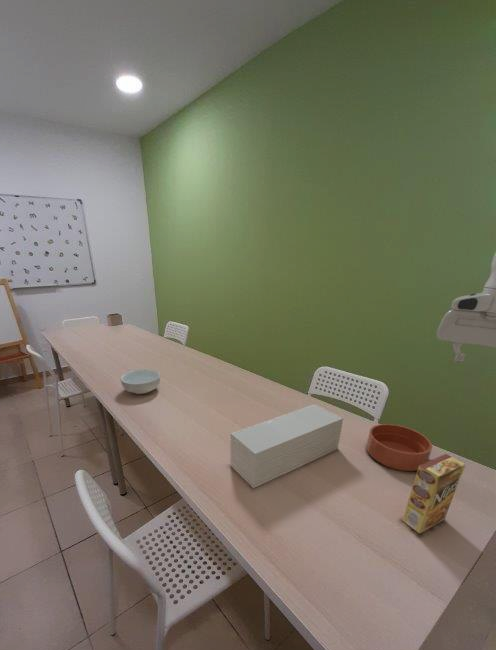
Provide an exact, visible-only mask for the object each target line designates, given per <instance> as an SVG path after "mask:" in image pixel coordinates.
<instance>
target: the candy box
mask: <svg viewBox="0 0 496 650" xmlns="http://www.w3.org/2000/svg"><path fill="white" fill-rule="evenodd" d="M465 467H466V463H464V462H462V461H461V460H459V459H457V458H455V457H453V456H450V455H449V454H447V453H444V454H442V455H439V456H438V457H435V458H433V459H430V460H428V462H427V463H424V464H422V465H419V467H418V470H416V474H415V477H414V481H413V484H412V488H411V491H410V494H409V498H408V501H407V504H406V507H405V511H404V513H403V517H402V522H403V523H405V524H406V525H407V526H408V527H410V528H411V529H413V530H414V531H415V532H417V533H418V534H422V533H424V532H425V531H427V530H429V529H431V528H432V527H434V526H436V525H438V524H440V523H441V522H443V521H444V520H446V517H447V514H448V512H449V509H450V507H451V504H452V501H453V498H454V495H455V494H456V490H457V488H458V486H459V483H460V480H461V477H462V474H463V472H464V469H465Z"/></svg>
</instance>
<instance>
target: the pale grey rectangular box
mask: <svg viewBox="0 0 496 650" xmlns="http://www.w3.org/2000/svg"><path fill="white" fill-rule="evenodd" d="M343 421H344V418H343V417H342V416H339V415H337V414H335V413H333V412H331V411H330V410H327V409H325V408H324V407H321V406H319V405H317V404H315V403H313V404H310V405H308V406H305V407H302V408H299V409H296V410H293V411H290V412H288V413H285V414H282V415H279V416H276V417H272V418H270V419H268V420H265V421H261V422H259V423H256V424H253V425H250V426H247V427H244V428H242V429H239V430H236V431H233V432H230V443H229V444H230V449H229V450H230V453H229V454H230V457H229V458H230V460H229V461H230V462H229V463H230V465H229V466H231V468H232V469H234V470H235V471H236V472H237V474H239V476H241V477H242V479H244V480H245V481H246V483H247V484H249V485H250V486H251V487H252V489H255V488H257V487H260V486H261V485H264V484H266V483H267V482H270V481H272V480H274V479H277V478H279V477H280V476H283V475H285V474H287V473H289V472H292V471H294V470H296V469H298V468H300V467H302V466H304V465H306V464H309V463H311V462H313V461H315V460H318V459H319V458H322V457H324V456H326V455H328V454H330V453H332V452H334V451H337V450H339V445H340V439H341V434H342V433H341V432H342V429H343V428H342V427H343Z"/></svg>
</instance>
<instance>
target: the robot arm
mask: <svg viewBox="0 0 496 650" xmlns="http://www.w3.org/2000/svg"><path fill="white" fill-rule="evenodd" d="M435 335H436V336H435V337H437V339H438V340H439V341H445V342H451V343H452V350H453V352H454V354H455V356H454V362H458V363H463V362H464V359H465V356H466V353H463V352H462V351H461V348H460V347H461V346H462V345H463V344H466V345H472V346H473V345H474V346H481V347H488V348H495V349H496V250H495V252H494V254H493V256H492V260H491V263H490V274H489V277H488V279H487V281H486V282H485V283H484V286H483V289H482V291H481V292H477V293H471V294H468V295H467V294H466V295H462V296H458V297H456V298H454V299H453V301H452V302H451V309H449V310H448V311H447V312H446V313H445V314H444V315H443V317H442V319H441V321H440V322H439V326H438V328H437V331H436V334H435Z"/></svg>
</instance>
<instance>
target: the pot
mask: <svg viewBox="0 0 496 650" xmlns="http://www.w3.org/2000/svg"><path fill="white" fill-rule="evenodd" d="M365 449H366V451H367V453H368V455H369V456H371V458H372V459H373V460H375V461H376V462H377V463H379V464H381V465H382V466H385V467H388V468H390V469H393V470H397V471H403V472H415V471H418V467H419V465H422V464H424V463H427V462H429V459H430V457H431V453H432V449H433V444H432V441H431V440H430V439H429V438H428V437H427V436H426V435H424V434H423V433H422V432H419V431H417V430H415V429H413V428H410V427H407V426H404V425H399V424H393V423H379V424H376V425H373V426H372V427H371V428H370V429H369V432H368V437H367V441H366V447H365Z"/></svg>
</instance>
